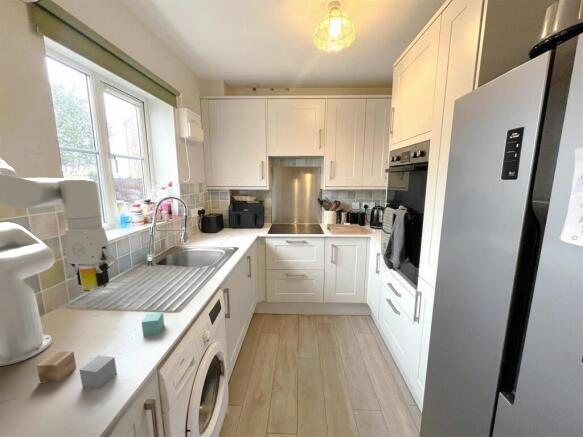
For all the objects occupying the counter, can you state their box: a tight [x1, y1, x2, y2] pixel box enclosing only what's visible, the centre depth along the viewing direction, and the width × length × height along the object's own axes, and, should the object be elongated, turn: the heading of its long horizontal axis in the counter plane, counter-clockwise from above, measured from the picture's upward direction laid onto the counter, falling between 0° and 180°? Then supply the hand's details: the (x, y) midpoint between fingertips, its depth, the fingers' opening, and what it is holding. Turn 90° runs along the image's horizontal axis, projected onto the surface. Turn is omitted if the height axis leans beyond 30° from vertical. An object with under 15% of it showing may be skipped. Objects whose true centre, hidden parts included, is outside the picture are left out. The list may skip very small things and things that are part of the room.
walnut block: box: [36, 350, 77, 383], centre depth 65 cm, size 5×5×5 cm
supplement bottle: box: [79, 263, 108, 294], centre depth 70 cm, size 6×6×10 cm
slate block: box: [79, 354, 117, 390], centre depth 62 cm, size 5×5×5 cm
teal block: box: [141, 312, 165, 337], centre depth 83 cm, size 5×5×5 cm
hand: (94, 283), depth 70 cm, fingers closed on supplement bottle, 5 cm apart
